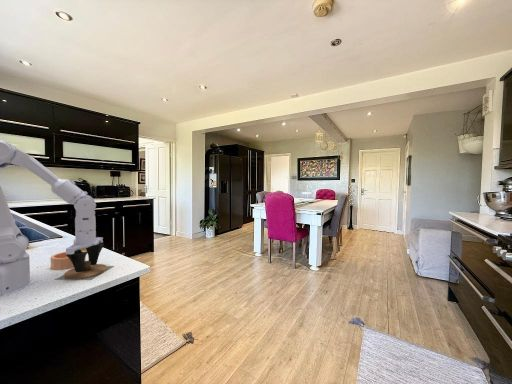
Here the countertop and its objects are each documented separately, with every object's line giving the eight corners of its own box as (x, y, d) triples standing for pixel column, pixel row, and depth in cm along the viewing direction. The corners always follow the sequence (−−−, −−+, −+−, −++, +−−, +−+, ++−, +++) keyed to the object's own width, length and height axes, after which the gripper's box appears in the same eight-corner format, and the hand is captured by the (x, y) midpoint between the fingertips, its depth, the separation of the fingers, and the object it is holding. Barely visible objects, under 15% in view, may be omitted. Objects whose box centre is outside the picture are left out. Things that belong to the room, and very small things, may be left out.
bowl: (71, 271, 81) (71, 259, 81) (43, 271, 81) (43, 258, 81) (91, 261, 91) (91, 250, 91) (66, 261, 91) (66, 250, 91)
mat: (91, 281, 73) (91, 279, 73) (54, 280, 73) (54, 279, 73) (114, 267, 85) (114, 266, 85) (82, 267, 85) (82, 265, 85)
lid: (91, 279, 73) (90, 268, 73) (54, 279, 73) (54, 268, 73) (114, 266, 85) (114, 256, 85) (82, 265, 85) (82, 256, 85)
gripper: (81, 234, 72) (82, 276, 72) (110, 226, 86) (111, 261, 87) (58, 234, 71) (60, 276, 72) (92, 225, 86) (92, 260, 87)
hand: (86, 268), depth 79 cm, fingers open, 6 cm apart
